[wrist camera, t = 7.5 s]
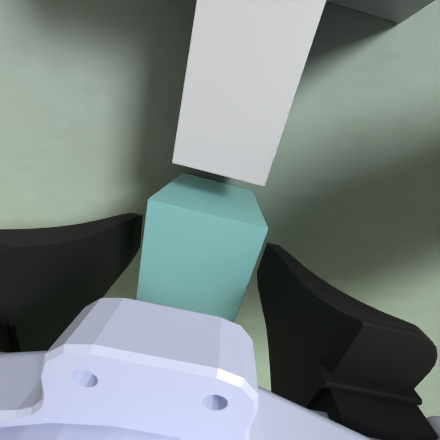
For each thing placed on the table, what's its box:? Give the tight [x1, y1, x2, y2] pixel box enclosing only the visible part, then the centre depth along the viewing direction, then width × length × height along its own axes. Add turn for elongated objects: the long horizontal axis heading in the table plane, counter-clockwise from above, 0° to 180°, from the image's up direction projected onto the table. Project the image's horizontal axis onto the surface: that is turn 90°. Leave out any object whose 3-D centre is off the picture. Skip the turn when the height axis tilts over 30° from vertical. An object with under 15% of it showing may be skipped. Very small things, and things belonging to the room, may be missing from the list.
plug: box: [136, 0, 326, 323], centre depth 9 cm, size 4×13×5 cm, turn 166°
